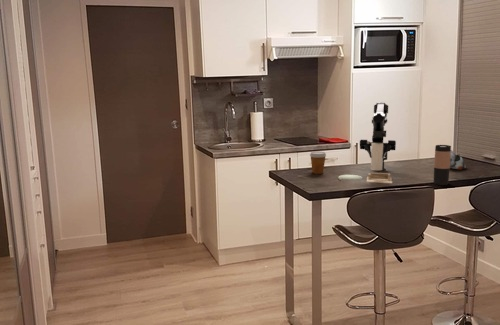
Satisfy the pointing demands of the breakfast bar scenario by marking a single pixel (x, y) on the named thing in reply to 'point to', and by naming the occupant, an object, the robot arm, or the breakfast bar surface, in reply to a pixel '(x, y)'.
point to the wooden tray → (379, 178)
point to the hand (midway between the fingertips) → (376, 157)
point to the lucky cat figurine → (456, 161)
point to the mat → (349, 177)
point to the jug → (376, 156)
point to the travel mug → (442, 164)
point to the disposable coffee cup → (317, 162)
